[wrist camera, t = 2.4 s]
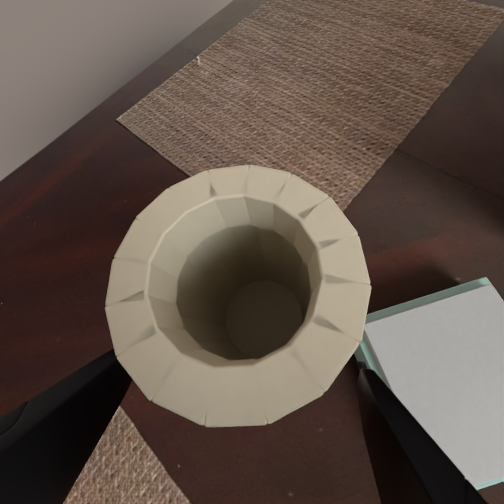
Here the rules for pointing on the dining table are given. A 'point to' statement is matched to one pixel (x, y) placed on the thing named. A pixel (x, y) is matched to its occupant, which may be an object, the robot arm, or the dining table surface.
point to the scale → (447, 371)
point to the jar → (237, 296)
